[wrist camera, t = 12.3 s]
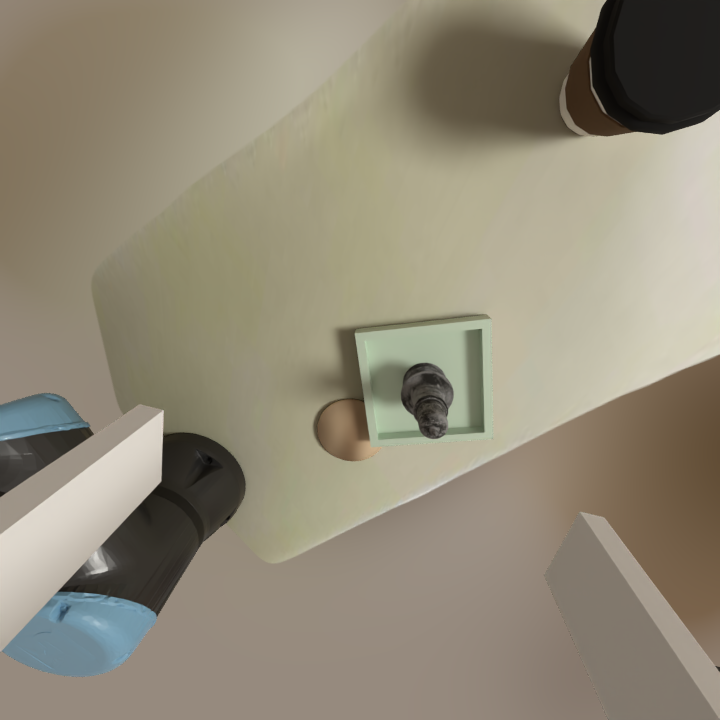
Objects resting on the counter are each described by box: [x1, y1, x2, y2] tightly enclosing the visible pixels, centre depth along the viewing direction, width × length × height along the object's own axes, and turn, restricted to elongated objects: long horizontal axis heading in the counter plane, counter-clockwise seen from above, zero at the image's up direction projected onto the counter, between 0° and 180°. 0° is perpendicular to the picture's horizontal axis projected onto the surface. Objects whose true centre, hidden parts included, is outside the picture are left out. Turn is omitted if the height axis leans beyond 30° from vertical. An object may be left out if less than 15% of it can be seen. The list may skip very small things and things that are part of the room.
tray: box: [355, 315, 493, 447], centre depth 43 cm, size 15×15×2 cm
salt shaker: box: [401, 363, 454, 439], centre depth 37 cm, size 6×6×12 cm
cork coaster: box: [317, 399, 381, 461], centre depth 47 cm, size 9×9×1 cm
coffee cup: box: [559, 0, 720, 136], centre depth 27 cm, size 11×11×12 cm
